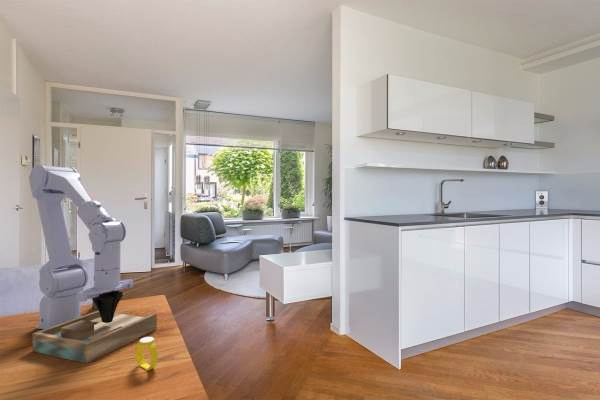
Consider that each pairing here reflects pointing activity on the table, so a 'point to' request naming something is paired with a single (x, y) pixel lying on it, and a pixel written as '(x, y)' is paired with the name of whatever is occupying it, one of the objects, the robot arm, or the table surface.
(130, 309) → the table surface
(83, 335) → the walnut block
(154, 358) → the watch
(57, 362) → the table surface
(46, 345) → the board
